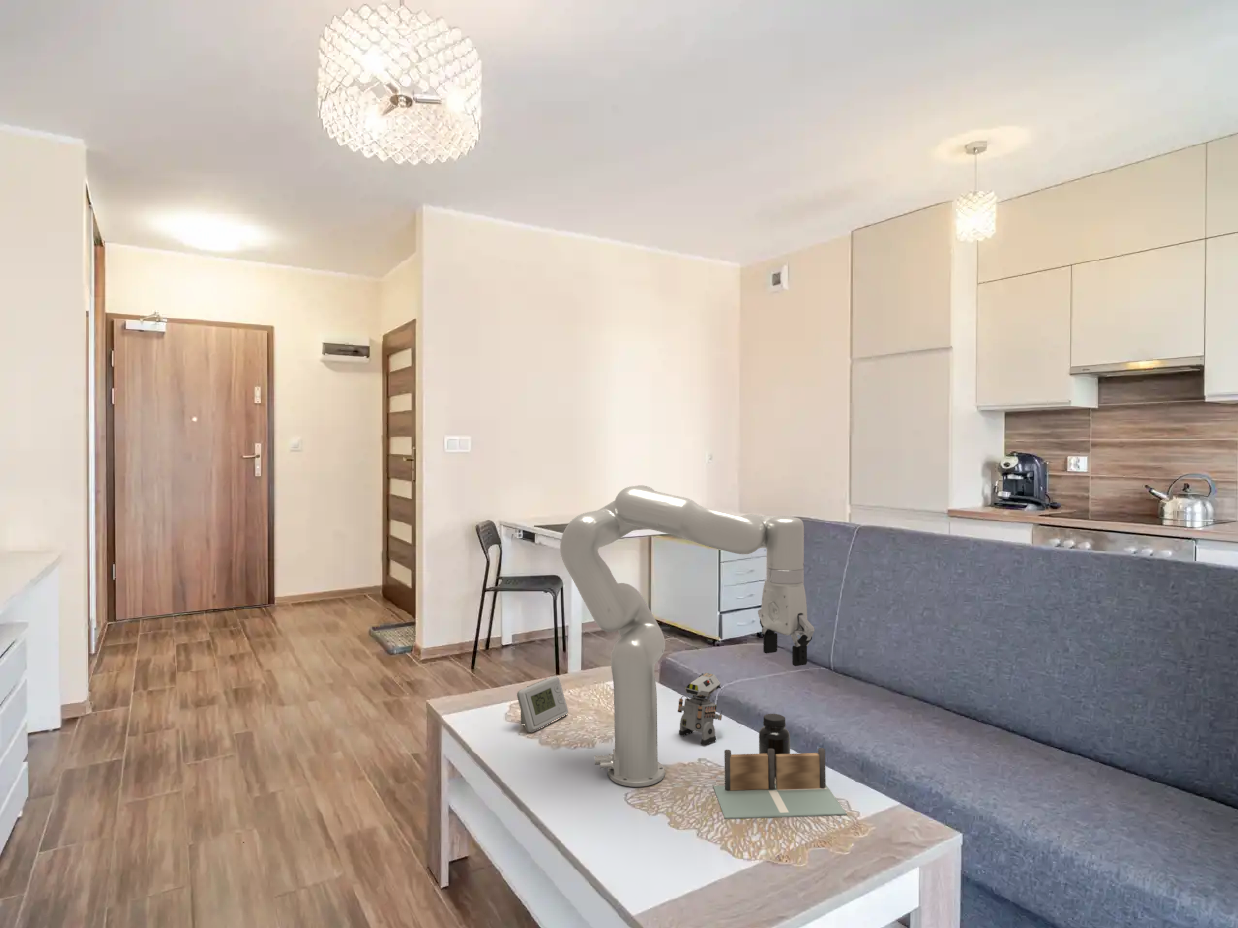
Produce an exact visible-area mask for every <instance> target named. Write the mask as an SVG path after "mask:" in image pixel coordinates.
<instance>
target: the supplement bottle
mask: <svg viewBox="0 0 1238 928" xmlns="http://www.w3.org/2000/svg"><path fill="white" fill-rule="evenodd" d="M762 725H763V726H762V727H761V728H760V730H759V732H758V754H767V755H768V749H774V750H775V777H776V754H791V735H790V731H789V730H788V729H787V728H786V726H787V725H786V717H785V716H784V715H782V714H779V713H768V714H764V716H763V722H762Z"/></svg>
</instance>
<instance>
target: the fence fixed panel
mask: <svg viewBox="0 0 1238 928" xmlns="http://www.w3.org/2000/svg"><path fill="white" fill-rule="evenodd" d="M817 750H818V751H817V752H812V753H811V752H809V753H807V752H805V753H804V752H803V753H790V754H776V776H775V784H776V788H777V790H785V789H818V788H822V789H824V788H826V785H827V784H826V783H827V782H826V749H825V748H823V747H819V748H817Z"/></svg>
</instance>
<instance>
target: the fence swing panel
mask: <svg viewBox="0 0 1238 928" xmlns="http://www.w3.org/2000/svg"><path fill="white" fill-rule="evenodd" d="M723 757H724V786H725V790H728V791H730V790H758V789H768V788H769V789H775V784H776V776H775V750H774V749H768V755H767V754H759V753H739V754H736V753H735V754H732V750H730V749H725V750H724V756H723Z"/></svg>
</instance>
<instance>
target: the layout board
mask: <svg viewBox="0 0 1238 928" xmlns="http://www.w3.org/2000/svg"><path fill="white" fill-rule="evenodd" d="M713 790H714V793H715V795H716V798H718V799H717V801H718V804H719V806H720V810H721V812H722V814H723V817H724V819H725V820H730V819H731V820H732V819H737V820H738V819H762V818H764V819H765V818H767V819H768V818H792V817H793V818H794V817H795V818H796V817H824V816H829V817H830V816H831V817H832V816H847V814H848V813H847V812H846V810H845V809H844V808H843V806H842V805H841V803H840V802H839V801H838V799H837V797H835V795H834V794H833V792H832V791H831V789H830V788H829V787H828V785H827V784H826V788H824V789H822V788H818V789H785V790H777V788H776V783H775V789H769V788H768V789H758V790H730V791H728V790H725V785H713Z"/></svg>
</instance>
